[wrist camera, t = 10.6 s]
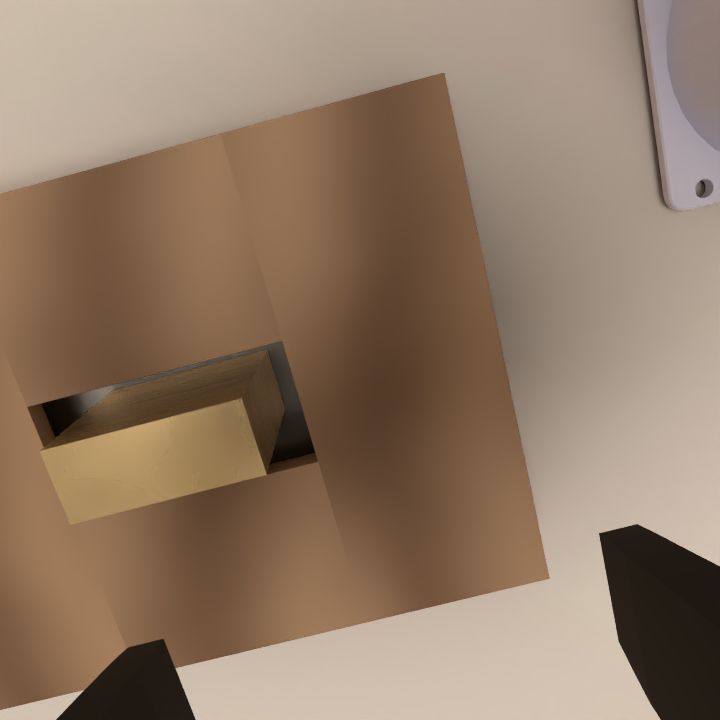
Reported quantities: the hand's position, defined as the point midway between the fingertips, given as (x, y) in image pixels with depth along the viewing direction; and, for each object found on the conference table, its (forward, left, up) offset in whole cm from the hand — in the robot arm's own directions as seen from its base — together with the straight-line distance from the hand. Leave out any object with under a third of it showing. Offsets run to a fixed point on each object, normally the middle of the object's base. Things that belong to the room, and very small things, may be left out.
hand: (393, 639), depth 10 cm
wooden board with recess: (+5, -2, -10) cm, 12 cm away
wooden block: (+5, -2, -10) cm, 12 cm away
